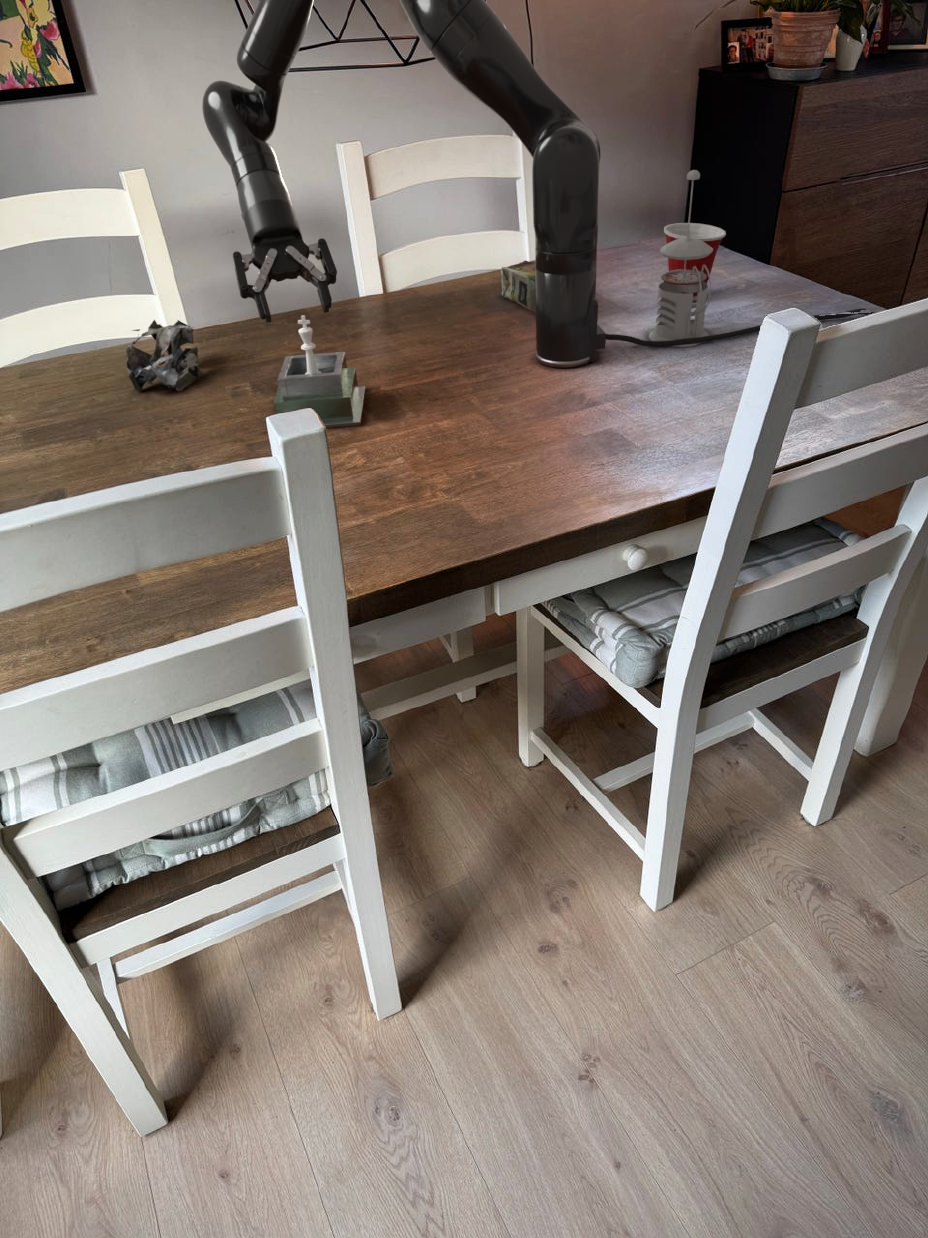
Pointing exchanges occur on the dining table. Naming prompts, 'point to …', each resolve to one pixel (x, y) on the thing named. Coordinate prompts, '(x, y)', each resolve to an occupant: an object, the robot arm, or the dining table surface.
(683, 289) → the french press
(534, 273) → the juice carton
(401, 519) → the dining table surface
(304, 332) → the chess piece
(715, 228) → the plastic cup
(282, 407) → the stand
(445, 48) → the robot arm
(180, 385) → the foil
